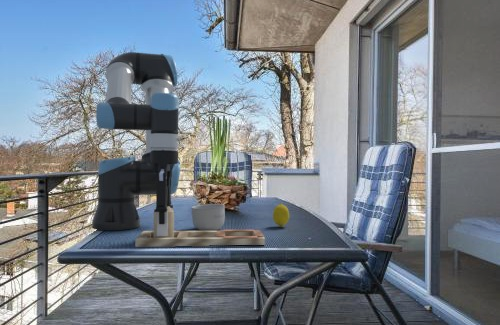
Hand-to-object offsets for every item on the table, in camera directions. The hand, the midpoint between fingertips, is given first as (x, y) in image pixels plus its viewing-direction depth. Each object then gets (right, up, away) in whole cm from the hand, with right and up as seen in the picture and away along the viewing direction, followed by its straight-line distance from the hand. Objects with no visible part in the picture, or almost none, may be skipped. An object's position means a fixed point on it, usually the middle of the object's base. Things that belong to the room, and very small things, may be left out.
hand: (163, 233), depth 113 cm
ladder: (+10, -2, +1) cm, 11 cm away
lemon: (+34, -3, +26) cm, 43 cm away
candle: (0, -3, 0) cm, 3 cm away
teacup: (+10, -2, +21) cm, 24 cm away
